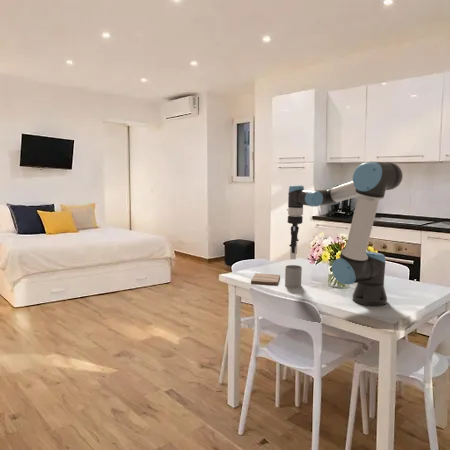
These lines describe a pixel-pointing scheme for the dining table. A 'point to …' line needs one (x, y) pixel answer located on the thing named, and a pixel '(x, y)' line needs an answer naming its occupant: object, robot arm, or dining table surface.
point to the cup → (293, 276)
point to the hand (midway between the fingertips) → (293, 256)
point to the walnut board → (265, 279)
